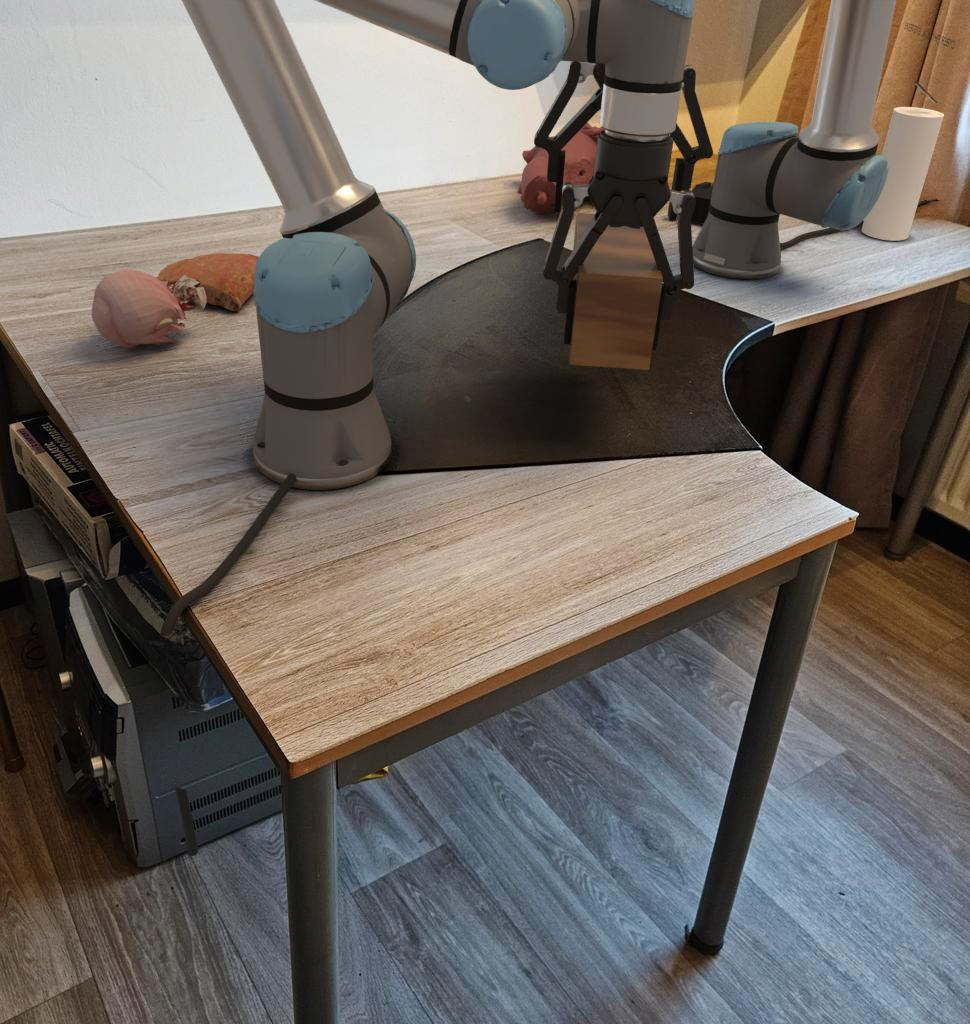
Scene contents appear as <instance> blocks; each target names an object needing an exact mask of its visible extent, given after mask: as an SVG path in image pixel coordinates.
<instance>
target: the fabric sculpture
mask: <svg viewBox="0 0 970 1024" xmlns="http://www.w3.org/2000/svg"><path fill="white" fill-rule="evenodd" d="M602 130H604V128H602V127H601V126H600V127H598V126H592V125H591V124H590V123H589V122H587V123H586V124H585V125H584V126H583V127H582V128H581V130H580V131H579V132H578V133H577V134H576V135H575V136H574V137H573V138H572V139H571V140H570V141H569V142H568V143H567V144H566V145H565V146H564V147H563V148H562V149H561V150H565V166H564V177H563V185H564V184H565V183H566V182H570V183H572V184H573V185H583V184H588V183H589V182H590V180H591V179H592V177H593V174H594V168H595V159H596V150H597V141H598V134H599V133H600V132H601V131H602ZM555 136H556V135H554V136H550V137H551V138H554V137H555ZM521 156H522V158H523V160H524V162H525V163H526V164H525V166H524V168H523V170H522V172H521V173H522V174H521V180H520V181H521V182H520V185H519V186H518V189H517V194H518V195H520V200H521V202H522V203H523V207H524V209H525V210H529V211H530V212H532V213H535V214H546V213H549V212H551V211H552V210H554V201H555V190H556V182H548V179H547V169H548V157H549V155H548V152H547V151H546V150H545V149H542V148H540V147H539V148H538V147H536V146H535V145H534V147H532V148H531V149H529V150H523V151H522V153H521ZM582 203H584V199H583V200H582ZM562 206H563V200H562V199H561V209H562ZM579 208H581V205H580V206H579V207H576V208H574V212H575V211H578V209H579ZM560 212H561V210H560Z"/></svg>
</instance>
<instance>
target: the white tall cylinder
mask: <svg viewBox="0 0 970 1024" xmlns="http://www.w3.org/2000/svg"><path fill="white" fill-rule="evenodd" d="M904 30H905V31H907V32H910V33H912V32H913V34H915V33H916V34H917V35H918V36H921V37H923V38H924V37H925V39H928V40H930V41H931V40H932V41H933V42H937V40H938V44H939V43H940V44H942V45H943V46H946V47H947V48H948V47H949V49H950V48H951V49H952V50H953V49H954V48H955V45H956V40H954V39H951V38H948V37H946V36H942V37H941V34H938V35H937V33H934V32H933V31H931V30H926V29H923V34H921V31H922V27H920V26H918V25H915V24H912V23H909V22H908V21H907V22H905V26H904ZM927 33H928V35H927ZM940 37H941V38H940ZM940 39H941V42H940ZM945 39H946V40H945ZM944 42H945V43H944ZM952 43H954V44H953V46H952ZM913 84H914V85H915V86H916V87H917V88H919V90H920V91H921V92H922V95H923V96H924V97H926V98H928V99H929V100H930V101H931V102H932V103H934V104H937V103H938V101H937V100H936V99H935V98H934V97H932V95H931V94H930V93H929V92H928V91H927V90H926V89H925V88H924V87H923V86H922V85H921V84H920V83H919V82H918V81H915V80H914V82H913ZM944 117H945V114H944V113H943V112H940V111H937V110H936V109H935V110H934V109H929V108H924V107H915V106H914V107H913V106H897V107H894V108H893V110H892V114H891V118H890V122H889V126H888V129H887V133H886V137H885V140H884V145H883V148H882V151H881V155H882V156H883V157H884V158H886V159H887V161H888V175H887V178H886V182H885V184H884V187H883V189H882V192H881V194H880V196H879V198H878V200H877V202H876V203H875V205H874V207H873V208H872V209H871V211H870V212H869V214H868V215H867V216H866V218H865V219H864V223H863V225H862V226H861V232H862V233H863V234H864V235H866V236H868V237H871V238H873V239H878V240H884V241H893V242H895V241H897V242H898V241H899V242H900V241H905V240H907V239H909V236H910V233H911V229H912V226H913V222H914V219H915V215H916V211H917V210H918V209H917V208H918V207H919V206H918V202H919V201H920V200H921V199H920V198H921V195H922V191H923V188H924V184H925V182H926V178H927V175H928V171H929V169H930V165H931V161H932V158H933V155H934V151H935V148H936V145H937V142H938V141H937V140H938V138H939V134H940V130H941V127H942V124H943V121H944Z"/></svg>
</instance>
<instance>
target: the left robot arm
mask: <svg viewBox="0 0 970 1024" xmlns="http://www.w3.org/2000/svg"><path fill="white" fill-rule="evenodd" d="M181 2H182V4H183V6H184V9H185V10H186V12H187V14H188V16H189V18H190V20H191V22H192V24H193V26H194V28H195V30H196V33H197V35H198V36H199V38H200V41H201V42H202V44H203V47H204V48H205V51H206V52H207V53H206V54H207V55H208V57H209V59H210V61H211V63H212V65H213V67H214V69H215V70H216V73H217V75H218V77H219V79H220V81H221V83H222V85H223V87H224V89H225V91H226V93H227V96H228V97H229V100H230V101H231V104H232V106H233V107H234V110H235V112H236V114H237V115H238V118H239V120H240V122H241V124H242V126H243V128H244V131H245V133H246V134H247V136H248V138H249V140H250V142H251V144H252V147H253V148H254V151H255V153H256V155H257V156H258V158H259V160H260V163H261V165H262V166H263V168H264V171H265V173H266V175H267V177H268V179H269V181H270V183H271V185H272V187H273V189H274V191H275V193H276V196H277V197H278V199H279V201H280V203H281V205H282V208H283V212H284V215H283V217H282V220H281V224H280V227H279V232H280V235H281V236H282V238H280V239H278V240H276V241H274V242H273V243H271V244H269V245H268V246H267V247H266V248H265V249H264V250H262V252H261V253H260V255H258V257H259V258H258V259H257V262H256V265H255V271H254V275H255V282H254V290H253V293H252V294H253V301H254V305H255V310H256V311H255V312H256V320H257V331H258V340H259V349H260V359H261V369H262V379H263V388H264V390H263V391H264V396H263V400H262V404H261V408H260V412H259V415H258V419H257V423H256V427H255V430H254V434H253V439H252V441H253V442H252V455H253V460H254V464H255V467H256V468H257V470H258V471H259V472H260V473H261V474H262V475H263V476H265V477H266V478H268V479H269V480H271V481H273V482H275V483H278V484H280V485H279V487H278V489H277V490H276V491H275V493H274V494H273V495H272V497H271V498H270V499H269V501H268V502H267V504H266V505H265V506H264V508H262V510H261V512H260V513H259V515H258V516H257V517H256V519H255V520H254V521H253V523H252V524H251V526H250V527H249V528H248V530H247V531H246V533H244V535H243V536H242V538H241V539H240V540H239V541H238V542H237V544H236V545H235V546H234V547H233V549H232V550H231V551H230V553H228V555H227V556H226V557H225V559H224V560H223V561H222V562H221V563H220V565H218V567H217V568H216V569H215V570H214V571H213V572H212V573H211V574H210V575H209V576H208V577H207V578H206V579H205V580H204V581H203V582H202V583H200V584H199V585H198V586H196V587H195V588H193V589H191V590H190V591H188V592H186V593H185V594H183V595H182V596H181V597H179V599H177V600H176V601H175V602H174V604H173V605H172V606H171V607H170V609H169V611H168V613H167V614H166V615H165V618H164V621H163V623H162V626H161V629H160V634H159V636H161V637H168V636H170V635H171V634H172V633H173V632H174V628H175V626H176V623H177V621H178V619H179V618H180V616H181V615H182V613H183V611H184V610H186V608H188V607H189V606H190V605H191V604H193V603H194V602H197V600H199V599H201V598H202V597H204V596H205V595H207V594H208V593H209V592H210V591H212V589H214V588H215V587H216V586H217V584H218V583H219V582H220V581H221V580H222V579H223V578H224V577H225V576H226V575H227V573H228V572H229V571H230V570H231V569H232V568H233V566H234V565H235V564H236V563H237V561H238V560H239V559H240V558H241V556H242V555H243V554H244V552H245V551H246V550H247V549H248V548H249V546H250V545H251V544H252V542H253V541H254V540H255V538H256V537H257V536H258V534H259V533H260V532H261V530H262V529H263V527H264V525H266V523H267V522H268V520H269V519H270V517H271V516H272V515H273V513H274V512H275V510H276V509H277V507H278V506H279V504H280V503H281V502H282V500H283V499H284V498H285V496H286V495H287V493H288V492H289V491H290V490H291V488H295V489H301V490H312V491H314V490H315V491H323V490H327V491H328V490H337V489H342V488H348V487H351V486H355V485H358V484H361V483H363V482H366V481H368V480H370V479H373V478H374V477H375V476H377V475H378V474H380V473H381V472H382V471H383V470H384V469H385V468H386V467H387V466H388V464H389V463H390V461H391V458H392V438H391V432H390V430H389V427H388V424H387V422H386V419H385V417H384V413H383V411H382V408H381V406H380V403H379V400H378V398H377V395H376V393H375V385H374V337H375V335H376V333H377V332H378V331H379V329H380V328H381V327H382V325H384V323H385V321H386V320H387V319H388V318H389V316H390V315H391V313H392V312H393V311H394V309H396V308H397V307H398V306H400V305H401V303H402V302H403V300H404V299H405V297H406V296H407V295H408V292H409V289H410V287H411V284H412V281H413V279H414V276H415V272H416V267H417V253H416V248H415V247H416V246H415V244H414V240H413V237H412V235H411V233H410V232H409V230H408V228H407V226H406V225H405V224H404V223H403V221H402V219H400V218H399V217H398V216H396V215H395V214H394V213H392V212H390V211H388V210H386V209H385V208H384V206H383V205H384V204H383V203H382V201H381V199H380V197H379V195H378V193H377V191H376V188H375V186H374V185H371V184H369V183H366V182H364V181H362V180H360V179H358V178H357V177H356V176H355V174H354V171H353V169H352V167H351V165H350V163H349V161H348V158H347V156H346V154H345V152H344V150H343V148H342V147H343V146H342V145H341V143H340V141H339V139H338V136H337V134H336V132H335V130H334V127H333V125H332V123H331V120H330V119H329V117H328V114H327V112H326V109H325V108H324V105H323V103H322V101H321V98H320V97H319V94H318V92H317V90H316V87H315V85H314V82H313V81H312V78H311V76H310V74H309V72H308V70H307V68H306V65H305V63H304V60H303V58H302V56H301V54H300V52H299V49H298V48H297V45H296V43H295V40H294V39H293V36H292V34H291V32H290V29H289V28H288V25H287V23H286V21H285V18H284V16H283V14H282V11H281V9H280V7H279V5H278V2H277V1H276V0H181ZM314 2H317V3H320V4H322V5H324V6H327V7H329V8H332V9H335V10H337V11H339V12H342V13H345V14H347V15H349V16H352V17H355V18H357V19H359V20H362V21H365V22H366V23H369V24H372V25H374V26H377V27H379V28H382V29H383V30H387V31H388V32H392V33H394V34H396V35H399V36H401V37H404V38H407V39H408V40H412V41H413V42H416V43H419V44H421V45H424V46H426V47H429V48H431V49H434V50H436V51H438V52H441V53H443V54H446V55H449V56H451V57H454V58H455V59H458V60H459V61H462V62H464V63H466V64H468V65H470V66H473V67H474V68H475V69H476V71H477V72H478V73H479V75H480V76H481V77H482V78H483V79H484V80H485V81H486V82H487V83H489V84H490V85H492V86H494V87H496V88H499V89H503V90H508V91H518V90H523V89H527V88H529V87H532V86H534V85H536V84H538V83H541V82H543V81H544V80H545V79H547V78H548V77H549V76H550V75H551V74H553V73H554V71H555V70H556V69H557V67H558V66H559V63H560V62H570V61H573V62H587V63H593V64H596V63H603V64H605V77H604V86H603V95H602V104H601V110H600V114H599V125H600V127H602V128H604V130H602V131H601V132H600V133H599V134H598V141H597V150H596V159H595V168H594V174H593V177H592V179H591V180H590V182H589V183H588V184H583V185H573V184H572V183H570V182H566V183H565V184H564V185H563V187H562V200H563V206H562V209H561V212H560V213H559V216H558V219H557V222H556V224H555V228H554V231H553V234H552V237H551V240H550V244H549V248H548V250H547V253H546V256H545V260H544V263H543V268H542V270H543V271H542V277H543V278H544V279H545V280H548V281H550V280H551V281H553V282H555V283H556V284H557V295H556V296H557V297H556V311H557V313H558V314H565V318H564V329H563V345H569V344H571V335H572V325H573V315H574V305H575V295H576V280H573V278H574V276H575V275H576V273H577V272H578V266H579V265H582V264H583V262H584V261H585V259H586V258H587V256H588V254H589V253H590V251H591V250H592V248H593V247H594V245H595V243H596V242H597V240H598V239H599V237H600V236H601V235H602V234H603V232H604V231H605V229H606V228H607V226H608V225H610V227H622V226H627V227H630V228H634V229H640V227H644V230H645V233H646V236H647V239H648V241H649V244H650V247H651V250H652V253H653V256H654V259H655V262H656V264H657V267H658V270H659V271H661V272H662V277H663V282H662V288H661V295H660V301H659V308H658V314H657V321H656V327H655V334H654V340H653V347H652V351H654V352H655V351H657V347H658V341H659V335H660V328H661V322H662V321H670V319H671V318H672V316H673V308H674V303H675V297H676V295H677V294H678V292H679V291H681V290H685V289H686V290H691V289H692V288H694V287H695V269H694V267H695V265H694V264H693V248H692V247H693V232H692V230H693V229H692V222H691V218H692V214H693V211H694V208H695V204H696V200H695V197H694V194H693V192H692V190H690V189H689V190H686V191H681V192H680V191H675V190H671V187H670V185H669V175H670V167H671V161H672V156H673V155H672V154H673V147H674V141H673V139H672V138H671V136H670V135H669V134H671V133H672V132H674V131H675V129H676V123H677V121H678V114H679V106H680V101H681V93H682V90H681V85H682V79H683V73H684V67H685V66H686V61H687V55H688V47H689V41H690V36H691V29H692V22H693V17H694V6H695V0H314ZM587 197H589V199H590V201H591V202H592V204H593V206H594V208H595V209H596V211H595V212H594V213H593V214H594V216H593V218H592V220H591V222H590V224H589V225H588V227H587V229H586V230H585V232H584V233H583V235H582V237H581V238H580V240H579V241H578V243H577V245H576V246H575V248H574V249H573V248H572V251H571V253H570V255H568V257H567V259H566V260H565V262H564V264H563V265H562V267H561V266H559V262H560V260H561V259H560V258H561V256H562V253H563V250H564V248H565V243H566V241H567V237H568V235H569V231H570V229H571V225H572V222H573V219H574V214H575V211H574V208H576V207H579V206H580V207H581V206H582V204H583V202H582V200H583V201H584V199H586V198H587ZM669 202H671V203H672V208H673V211H674V213H676V214H677V219H676V222H677V223H676V224H677V239H678V253H679V257H678V258H679V268H680V270H679V272H680V273H678V274H675V275H674V273H673V270H672V268H671V265H670V262H669V258H668V255H667V253H666V250H665V247H664V244H663V241H662V238H661V235H660V232H659V230H658V229H659V228H658V227H657V223H656V221H655V216H656V215H657V214H658V213H659V212H660V211H661V210H662V209H663V208H664V207H665V206H666V205H667V203H669ZM580 207H579V208H580ZM174 791H175V796H176V799H177V803H178V809H179V812H180V817H181V822H182V826H183V832H184V837H185V842H186V847H187V854H188V856H190V857H195V856H197V854H199V848H198V847H199V846H198V841H197V836H196V829H195V824H194V819H193V813H192V809H191V805H190V804H191V803H190V800H189V796H188V791H187V789H183V788H180V787H178V786H174Z"/></svg>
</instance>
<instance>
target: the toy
mask: <svg viewBox="0 0 970 1024" xmlns="http://www.w3.org/2000/svg"><path fill="white" fill-rule="evenodd" d="M713 184H714V181H713V182H710V181H704V182H700V183H697V184H695V185H694V187H693V188H692V190H691V191H692V192H693V194H694V197H695V200H696V204H695V208H694V211H693V214H692V218H691V223H693V224H699V225H704V223H705V221H706V219H707V217H708V214H709V208H710V202H711V196H712V190H713Z"/></svg>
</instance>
